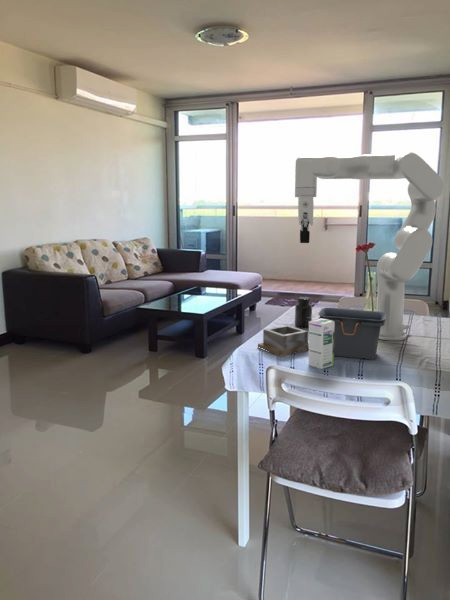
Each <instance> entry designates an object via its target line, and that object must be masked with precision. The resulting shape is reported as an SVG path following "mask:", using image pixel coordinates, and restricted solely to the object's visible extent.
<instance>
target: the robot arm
mask: <svg viewBox="0 0 450 600" xmlns="http://www.w3.org/2000/svg"><path fill="white" fill-rule="evenodd" d="M294 173H295V174H294V175H295V176H294V180H295V181H294V183H295V184H294V198H297V200H298V201H297V203H298V205H297V210H298V211H297V216H298V217H297V219H298V224H299V226H300V230H299V242H300V244H309V243H310V237H311V236H310V234H311V231H310V226H313V225H314V203H315V202H314V198H317V189H318V188H317V186H318V184H317V183H318V179H321V180H344V179H345V180H347V179H349V180H351V179H352V180H401V179H406V181H408V182H409V184H408V185H407V194H408V197H409V199H410V204H411V208H410V211H409V213H408V215H407V217H406V219H405V220H404V222H403V224H402V225H401V227H400V229H399V230H398V232H397V234H396V235H395V237H394V246H395V247H396V249H398V252H391V251H390V252H386V253H384V254H382V255H381V256H380V258H378V260H377V263H376V275H377V276H376V277H377V278H376V279H377V297H376V299H377V300H376V311H377V312H384V313H386V319H385V323H384V325H383V326H381V328H380V334H379V340H382V341H391V342H392V341H402V340H405V339H407V333H405V332H404V331H405V330H408V329H410V327H411V326H410V324H409V323H405V324H404V323H403V322H404V309H405V308H404V307H405V306H404V305H405V293H406V292H405V291H406V290H405V289H406V288H405V283H406V282H409V281H411V280H412V279H413V278H414V276H415V275H416V274H417V273H418V271H419V270H420V268H421V266H422V264H423V262H424V261H425V260H426V258H427V257H428V255H429V253H430V251H431V249H432V247H433V236H432V234H431V232H430V231H429V229H430V227H431V225H432V223H433V221H434V219H435V216H436V211H437V210H436V209H437V207H436V202H435V201H436V200H438V199H440V198H441V197H442V196H443V194H444V193H445V189H446V186H445V182H444V180H443V178H442V177H441V176H440V175H439V174H438V173H437V171H435V169H433V168H432V166H430V165H429V164H428V163H427V162H426V161H425V159H423V158H422V157H421V156H420V155H418V154H416V153H415V152H404V153H394V154H393V153H389V154H387V153H384V154H382V153H381V154H378V153H375V154H374V153H373V154H372V153H368V154H361V155H360V154H359V155H356V156H351V157H350V156H349V157H337V156H335V155H325V156H299V157H297V158H296V159H295V170H294Z"/></svg>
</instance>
